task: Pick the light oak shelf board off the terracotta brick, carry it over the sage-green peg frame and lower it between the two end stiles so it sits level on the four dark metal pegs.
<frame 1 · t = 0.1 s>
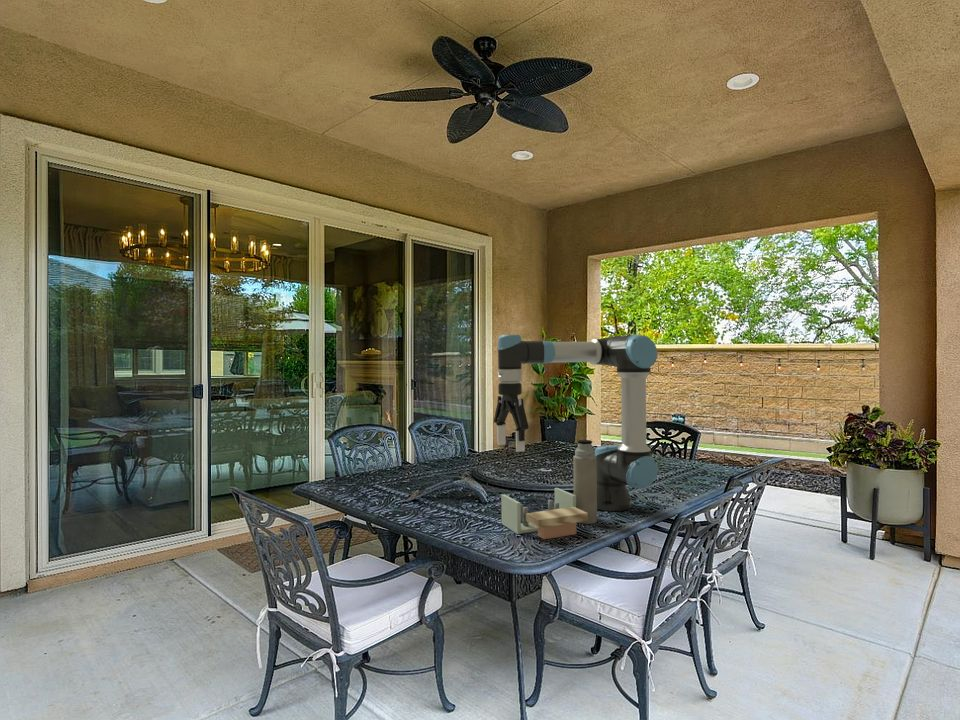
hand: (510, 448, 176), 28 cm above the table, tool pointing down, fingers open, 13 cm apart
terracotta brick: (557, 534, 175), on the table
oak shelf board: (556, 520, 175), point 4 cm above the table, touching terracotta brick
peg frame: (538, 524, 186), on the table
thermos bottle: (585, 520, 190), on the table
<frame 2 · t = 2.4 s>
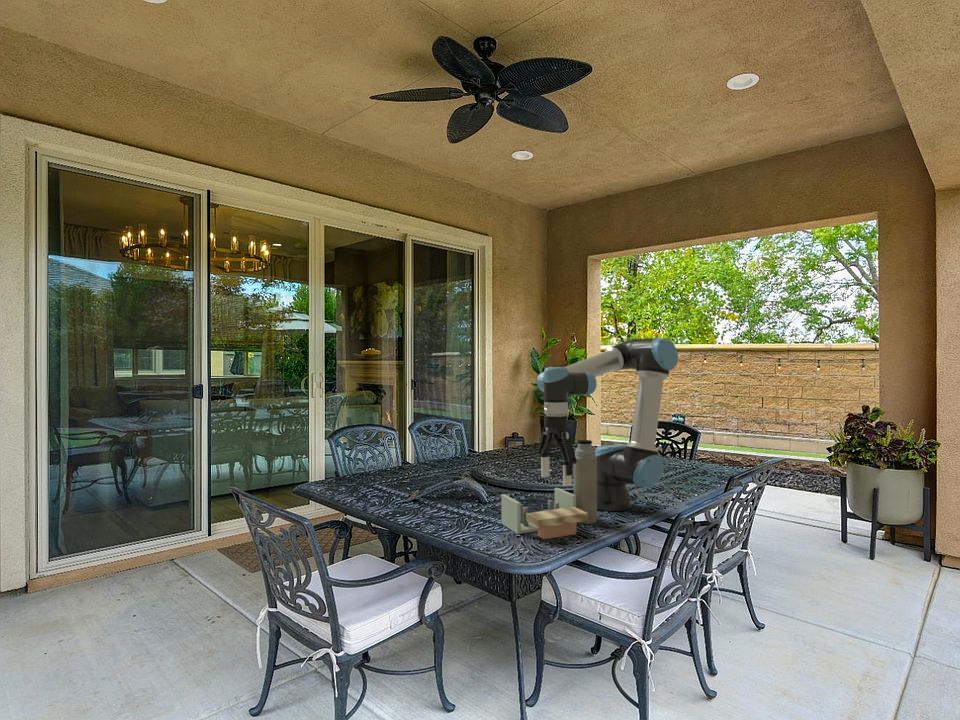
hand: (556, 481, 175), 17 cm above the table, tool pointing down, fingers open, 13 cm apart
nothing on the table moved.
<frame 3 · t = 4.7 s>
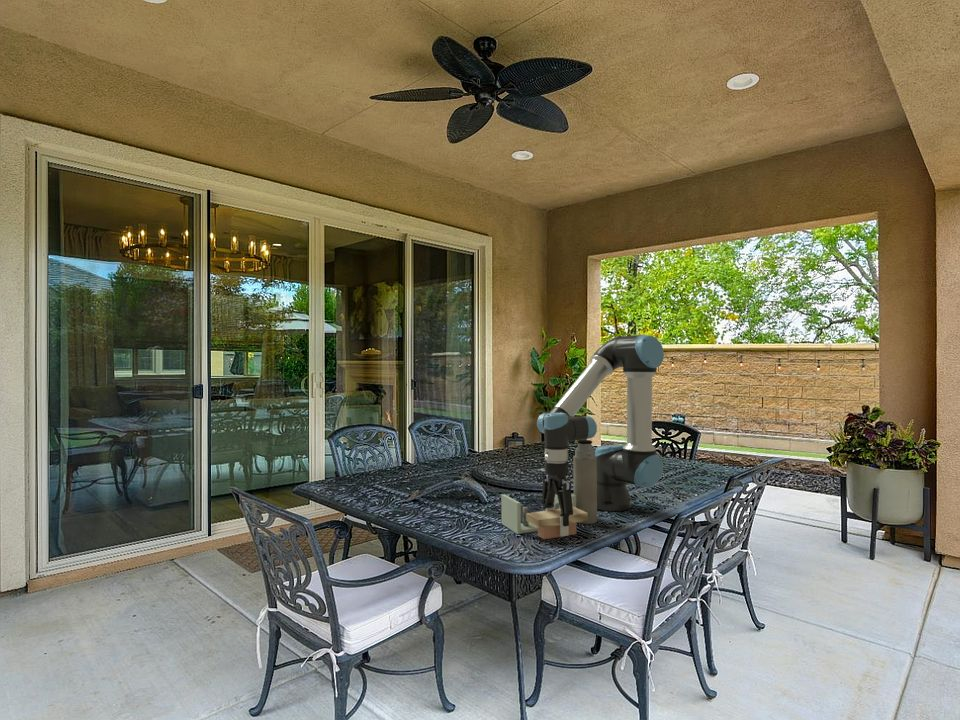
hand: (557, 531, 175), 1 cm above the table, tool pointing down, fingers closed on oak shelf board, 8 cm apart
oak shelf board: (556, 520, 175), point 5 cm above the table, touching gripper, terracotta brick
everything else where it was.
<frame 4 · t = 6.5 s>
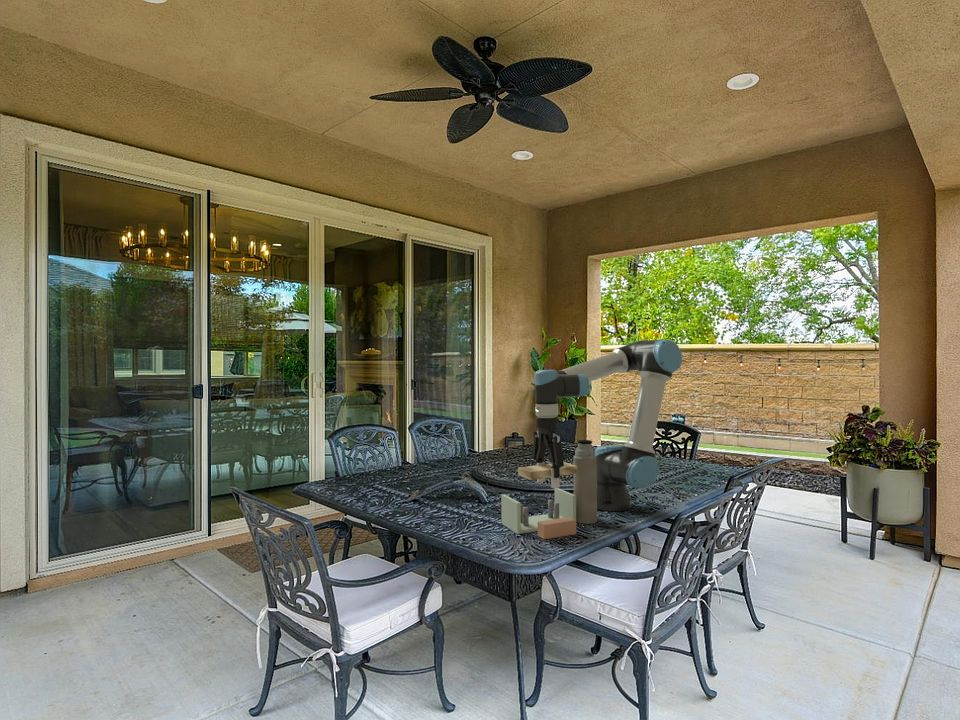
hand: (548, 484, 180), 15 cm above the table, tool pointing down, fingers closed on oak shelf board, 8 cm apart
oak shelf board: (547, 474, 180), point 18 cm above the table, touching gripper
everything else where it was.
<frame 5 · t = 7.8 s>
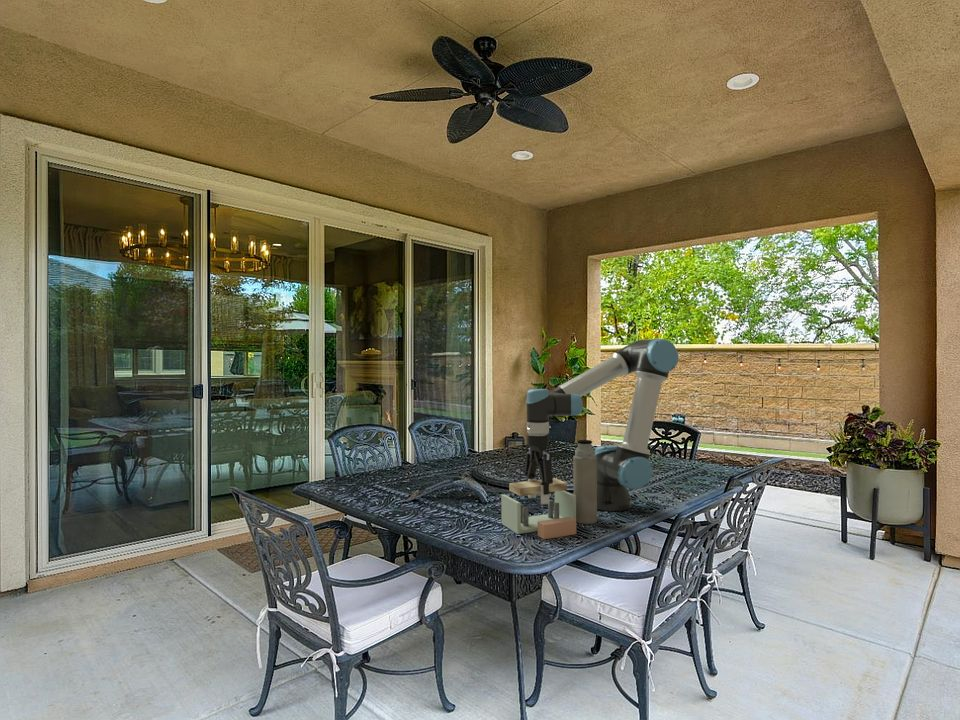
hand: (538, 500, 186), 8 cm above the table, tool pointing down, fingers closed on oak shelf board, 8 cm apart
oak shelf board: (538, 490, 186), point 12 cm above the table, touching gripper
everything else where it was.
when the fingers open (5 cm above the table, at t = 8.7 s): oak shelf board drops 2 cm, resting on peg frame.
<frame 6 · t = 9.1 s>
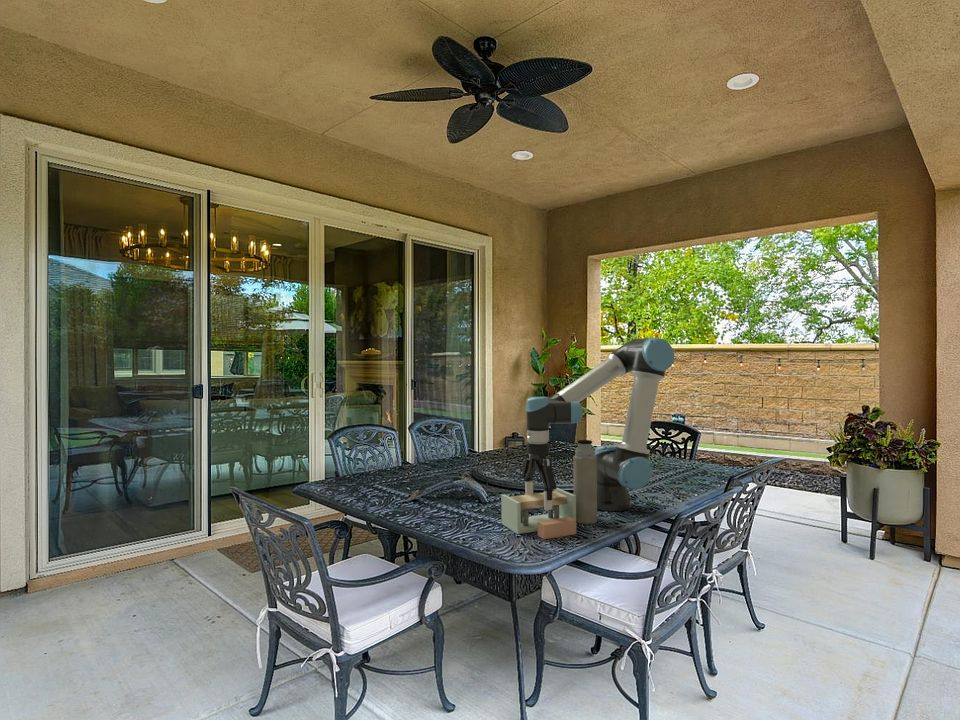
hand: (538, 504, 186), 7 cm above the table, tool pointing down, fingers open, 12 cm apart
oak shelf board: (538, 503, 186), point 7 cm above the table, touching peg frame
everything else where it was.
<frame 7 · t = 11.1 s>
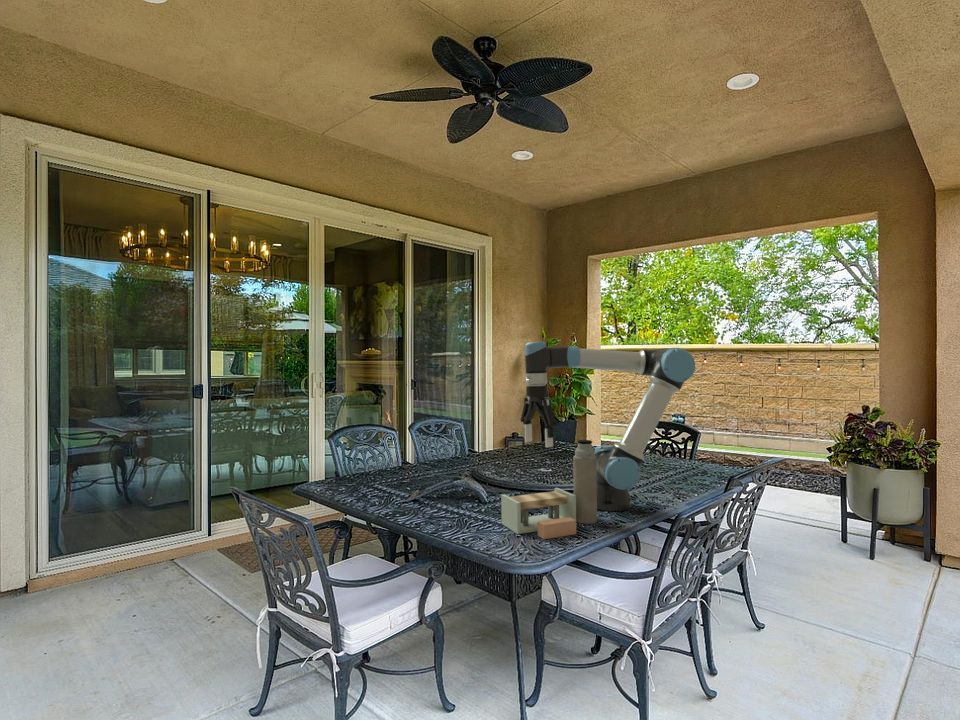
hand: (538, 444, 194), 26 cm above the table, tool pointing down, fingers open, 13 cm apart
nothing on the table moved.
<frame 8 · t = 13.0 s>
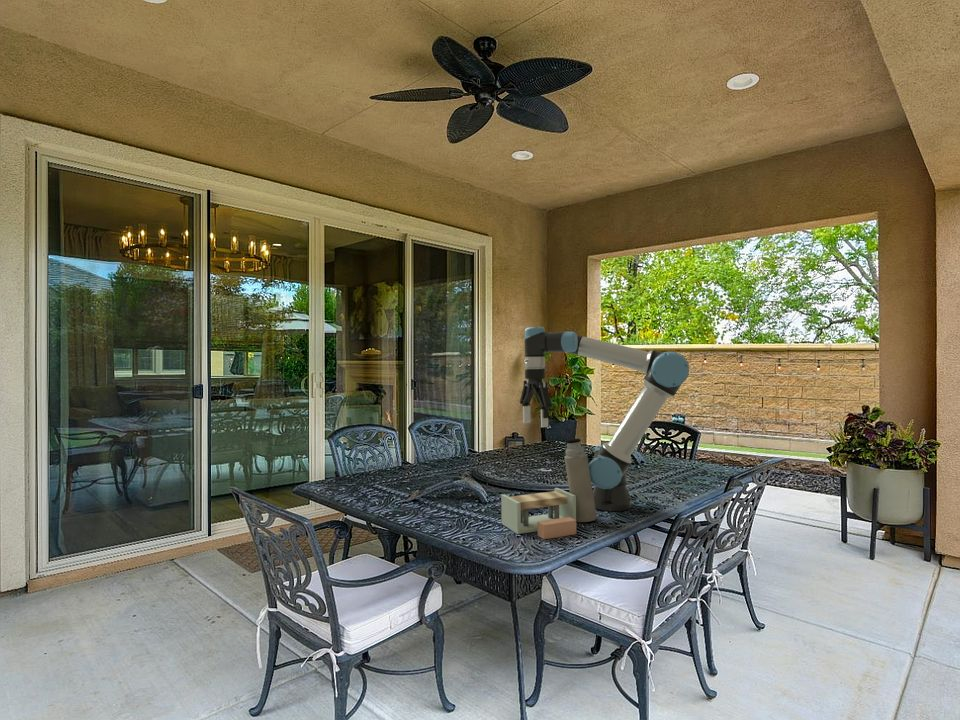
hand: (535, 425, 203), 32 cm above the table, tool pointing down, fingers open, 13 cm apart
thermos bottle: (585, 519, 190), on the table, touching arm
everything else where it was.
at the end: oak shelf board 0.0 cm off-centre on the peg frame, point 7.0 cm above the peg frame's base; oak shelf board tilted 0°; the gripper is holding nothing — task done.
